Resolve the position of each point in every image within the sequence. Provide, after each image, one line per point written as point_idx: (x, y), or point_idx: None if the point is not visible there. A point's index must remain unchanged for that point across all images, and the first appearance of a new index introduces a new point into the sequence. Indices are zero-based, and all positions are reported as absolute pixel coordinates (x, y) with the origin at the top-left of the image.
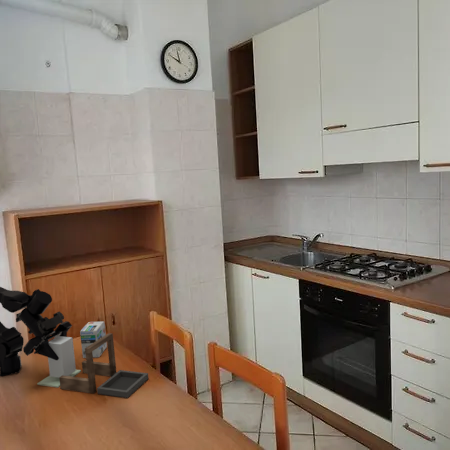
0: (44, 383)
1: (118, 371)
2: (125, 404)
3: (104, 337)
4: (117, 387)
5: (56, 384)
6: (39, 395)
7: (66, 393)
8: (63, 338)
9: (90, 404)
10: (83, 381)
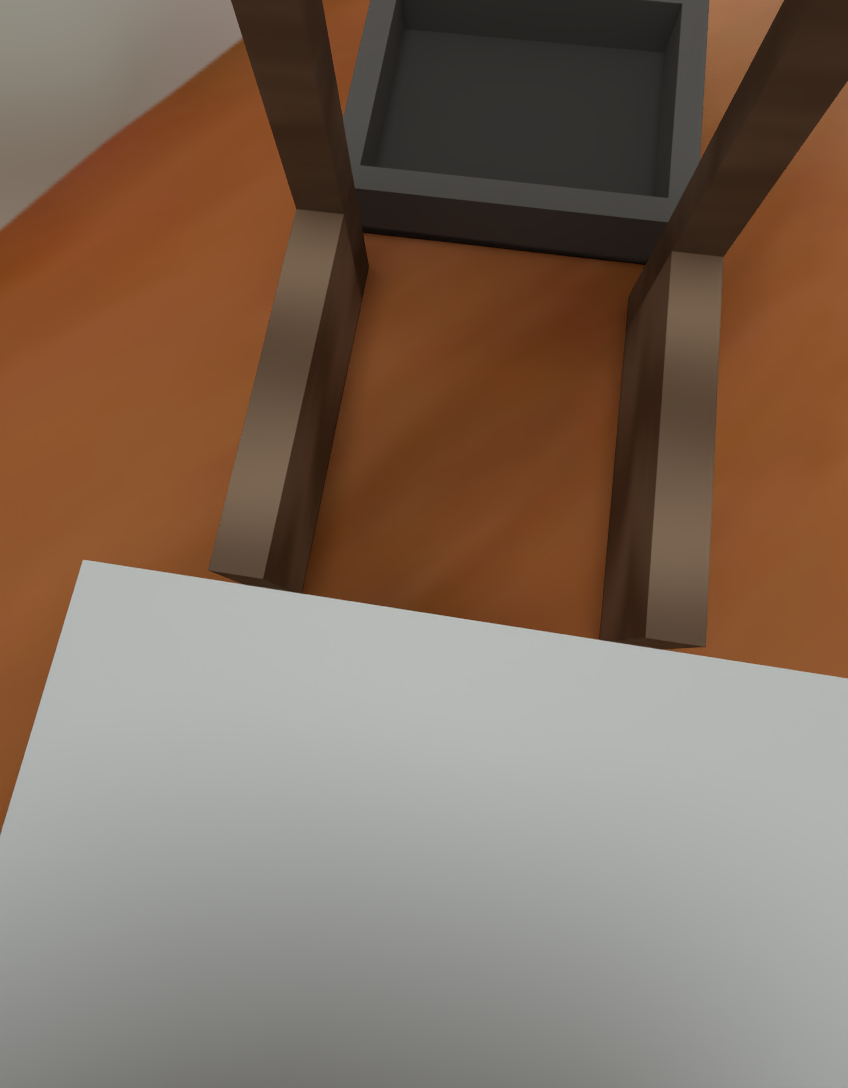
0: None
1: (359, 185)
2: (764, 28)
3: None
4: (556, 157)
5: None
6: None
7: (712, 540)
8: (171, 970)
9: (828, 248)
10: (716, 320)
